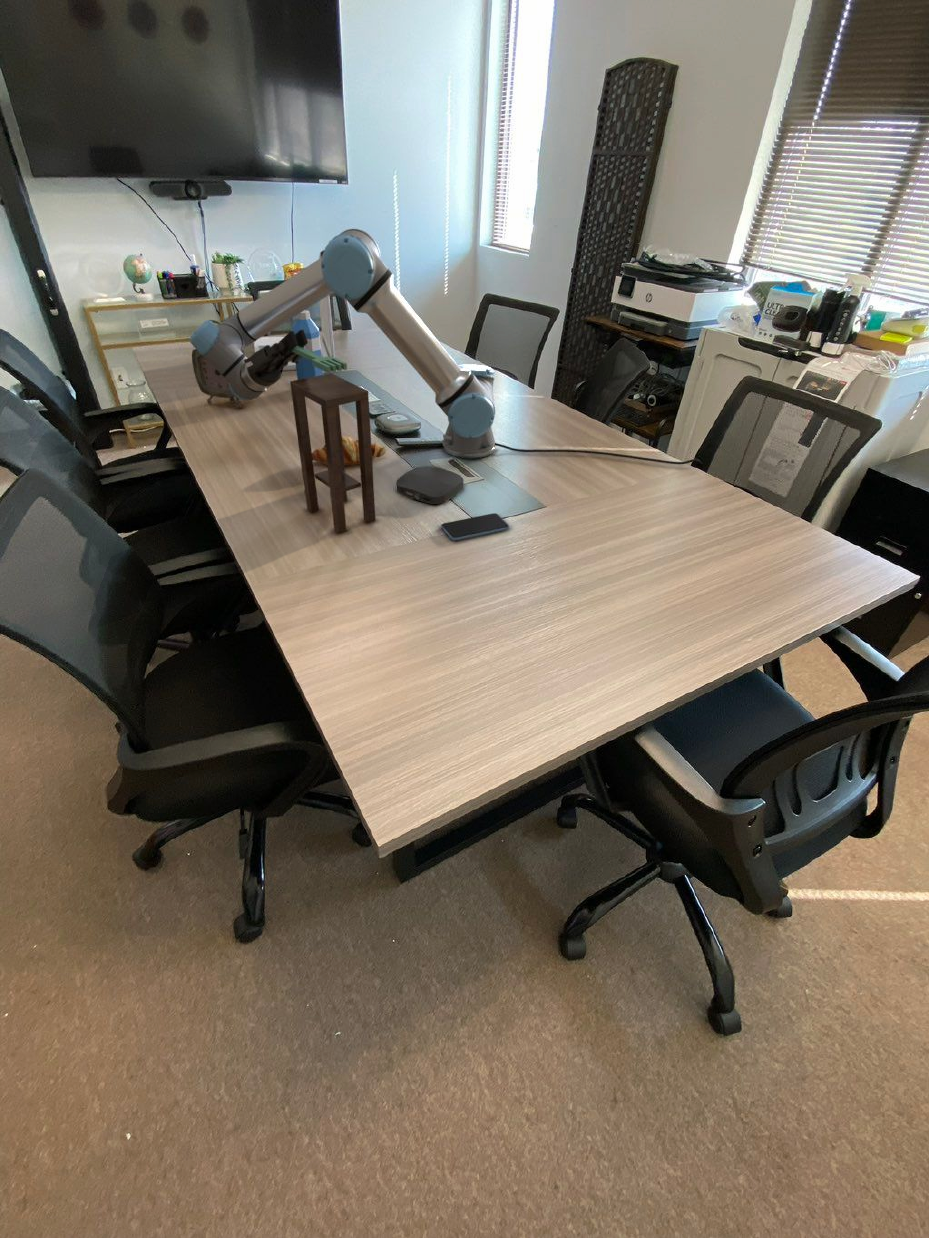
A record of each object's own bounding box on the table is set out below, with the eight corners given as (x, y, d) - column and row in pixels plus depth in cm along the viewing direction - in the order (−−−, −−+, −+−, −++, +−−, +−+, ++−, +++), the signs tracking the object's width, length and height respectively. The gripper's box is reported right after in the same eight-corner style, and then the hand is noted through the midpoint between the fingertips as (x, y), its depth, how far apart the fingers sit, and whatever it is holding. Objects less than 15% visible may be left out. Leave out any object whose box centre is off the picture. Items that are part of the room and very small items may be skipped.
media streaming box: (469, 486, 157) (469, 475, 155) (438, 508, 147) (439, 497, 145) (422, 471, 162) (422, 461, 160) (390, 492, 152) (389, 481, 150)
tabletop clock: (201, 405, 193) (182, 320, 177) (217, 396, 200) (199, 314, 184) (242, 411, 191) (226, 325, 175) (257, 401, 198) (242, 319, 182)
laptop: (254, 342, 251) (242, 266, 234) (325, 340, 258) (318, 266, 241) (256, 371, 222) (242, 287, 204) (336, 368, 229) (329, 287, 211)
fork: (273, 346, 130) (272, 340, 129) (291, 343, 132) (291, 337, 132) (328, 373, 118) (327, 367, 117) (347, 369, 120) (346, 363, 119)
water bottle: (319, 396, 204) (311, 316, 188) (293, 393, 205) (283, 313, 189) (330, 388, 211) (322, 309, 195) (304, 385, 212) (295, 307, 197)
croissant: (383, 463, 173) (379, 434, 171) (392, 460, 164) (388, 430, 162) (309, 470, 166) (304, 441, 165) (313, 468, 157) (308, 436, 155)
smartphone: (511, 526, 140) (453, 538, 134) (510, 529, 140) (452, 542, 135) (496, 511, 145) (439, 523, 139) (495, 514, 145) (439, 526, 140)
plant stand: (307, 509, 144) (289, 381, 125) (343, 498, 149) (331, 373, 130) (339, 534, 136) (325, 400, 117) (375, 520, 141) (368, 391, 122)
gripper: (295, 381, 148) (335, 350, 130) (239, 392, 141) (273, 361, 122) (284, 349, 147) (323, 314, 128) (226, 359, 139) (259, 322, 120)
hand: (299, 337), depth 125 cm, fingers closed on fork, 2 cm apart
